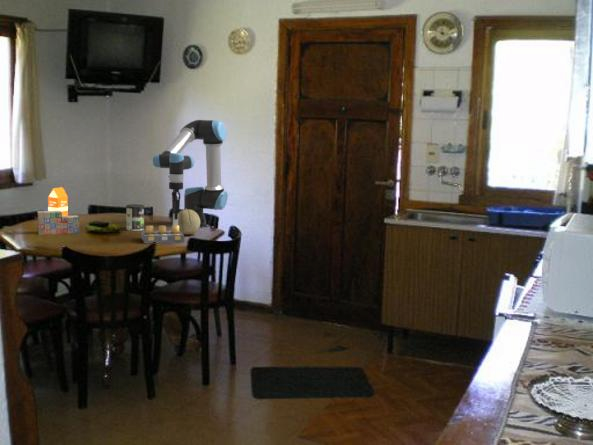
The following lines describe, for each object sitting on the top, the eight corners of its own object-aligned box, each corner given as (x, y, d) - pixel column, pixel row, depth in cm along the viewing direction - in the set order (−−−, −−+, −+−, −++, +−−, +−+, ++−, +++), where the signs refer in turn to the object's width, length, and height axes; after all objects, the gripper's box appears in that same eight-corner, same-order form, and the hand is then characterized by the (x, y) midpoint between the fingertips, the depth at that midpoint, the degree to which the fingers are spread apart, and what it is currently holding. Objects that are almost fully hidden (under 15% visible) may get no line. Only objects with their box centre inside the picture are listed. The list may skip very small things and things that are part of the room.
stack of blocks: (77, 231, 403) (77, 210, 401) (79, 233, 397) (78, 211, 395) (37, 232, 395) (37, 210, 392) (38, 234, 389) (38, 212, 387)
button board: (179, 237, 396) (179, 230, 396) (184, 242, 383) (184, 234, 382) (141, 238, 389) (141, 230, 389) (144, 243, 376) (144, 235, 376)
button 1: (152, 234, 386) (152, 225, 385) (153, 235, 382) (153, 226, 381) (145, 234, 385) (145, 225, 384) (146, 236, 381) (146, 226, 380)
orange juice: (48, 220, 433) (47, 188, 429) (58, 218, 441) (57, 186, 438) (58, 221, 430) (58, 189, 427) (68, 219, 438) (67, 187, 435)
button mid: (165, 234, 388) (165, 225, 388) (166, 235, 385) (166, 226, 384) (158, 234, 387) (158, 225, 386) (159, 235, 383) (159, 226, 382)
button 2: (178, 234, 391) (178, 225, 390) (179, 235, 387) (179, 226, 386) (171, 234, 389) (171, 225, 388) (172, 235, 386) (172, 226, 385)
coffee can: (146, 228, 420) (147, 204, 417) (139, 231, 410) (139, 207, 408) (130, 227, 422) (130, 203, 419) (123, 230, 412) (123, 206, 410)
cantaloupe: (188, 238, 396) (189, 211, 394) (168, 234, 404) (169, 208, 401) (205, 234, 409) (206, 208, 406) (186, 231, 416) (186, 205, 414)
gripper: (167, 180, 388) (166, 223, 392) (171, 183, 376) (170, 227, 380) (180, 180, 391) (180, 222, 394) (185, 183, 379) (184, 226, 382)
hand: (175, 224), depth 387 cm, fingers closed
